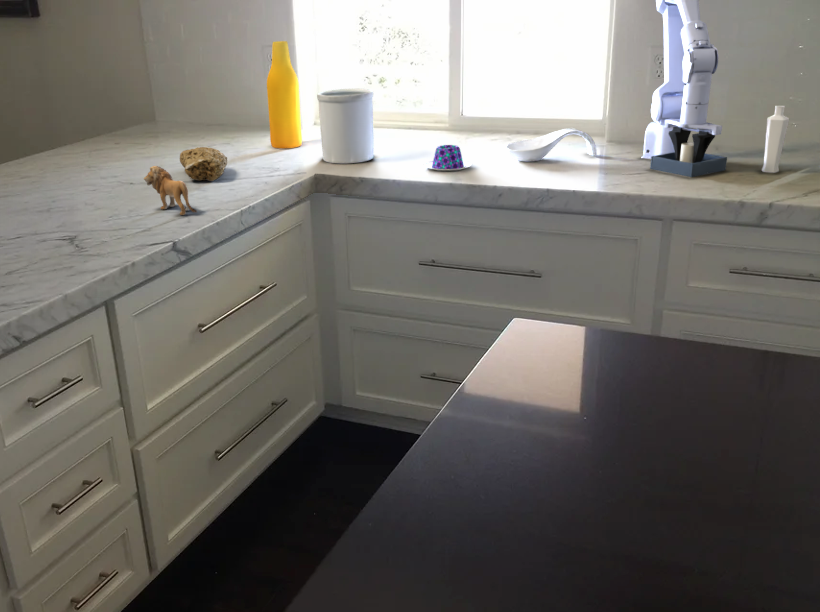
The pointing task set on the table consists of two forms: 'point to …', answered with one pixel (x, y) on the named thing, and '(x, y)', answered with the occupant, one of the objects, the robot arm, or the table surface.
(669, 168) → the bin
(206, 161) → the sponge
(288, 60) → the beer bottle
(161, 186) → the lion figurine
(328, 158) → the utensil holder
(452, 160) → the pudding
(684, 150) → the cream cylinder
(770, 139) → the perfume bottle
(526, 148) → the spoon rest
